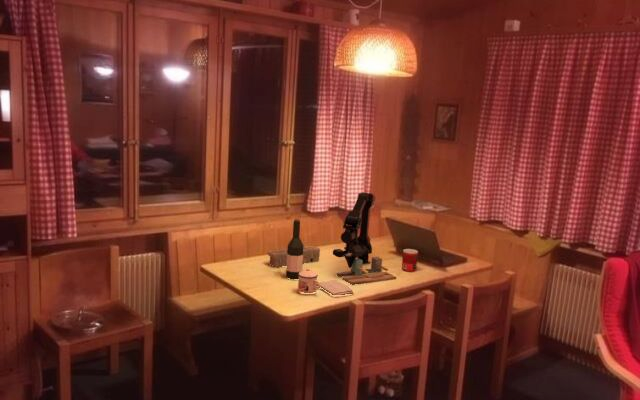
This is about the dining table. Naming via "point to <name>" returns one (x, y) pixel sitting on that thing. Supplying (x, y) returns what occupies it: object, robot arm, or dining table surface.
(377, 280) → the hole board
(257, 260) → the dining table surface
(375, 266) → the gauge rail
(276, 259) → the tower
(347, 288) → the washcloth
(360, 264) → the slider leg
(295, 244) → the wine bottle
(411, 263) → the canned food
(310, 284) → the teacup with lid
